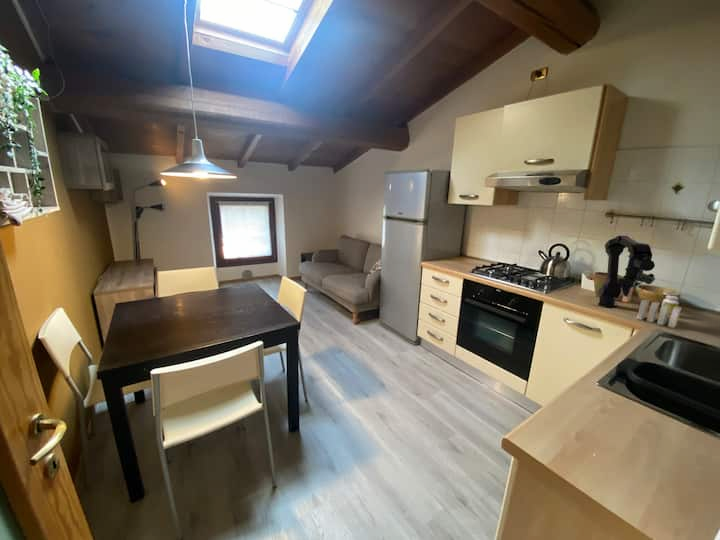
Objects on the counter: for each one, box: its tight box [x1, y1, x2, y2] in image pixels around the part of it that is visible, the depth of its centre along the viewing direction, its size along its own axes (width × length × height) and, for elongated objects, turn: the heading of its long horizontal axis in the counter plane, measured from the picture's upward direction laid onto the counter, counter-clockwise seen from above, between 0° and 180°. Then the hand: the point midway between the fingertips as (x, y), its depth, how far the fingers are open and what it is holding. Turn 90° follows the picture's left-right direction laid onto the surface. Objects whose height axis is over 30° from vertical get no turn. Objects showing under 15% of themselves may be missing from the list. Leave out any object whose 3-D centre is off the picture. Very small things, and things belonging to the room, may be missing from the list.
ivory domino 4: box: [667, 306, 682, 329], centre depth 147 cm, size 2×5×10 cm, turn 123°
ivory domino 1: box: [636, 299, 650, 320], centre depth 157 cm, size 2×5×10 cm, turn 123°
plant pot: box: [593, 271, 624, 299], centre depth 190 cm, size 15×15×16 cm
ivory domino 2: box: [646, 301, 660, 323], centre depth 153 cm, size 2×5×10 cm, turn 123°
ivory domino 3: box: [656, 304, 670, 326], centre depth 150 cm, size 2×5×10 cm, turn 123°
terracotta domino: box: [622, 287, 634, 303], centre depth 156 cm, size 2×5×10 cm, turn 123°
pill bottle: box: [659, 294, 680, 318], centre depth 163 cm, size 6×6×11 cm
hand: (627, 295), depth 156 cm, fingers closed on terracotta domino, 5 cm apart
